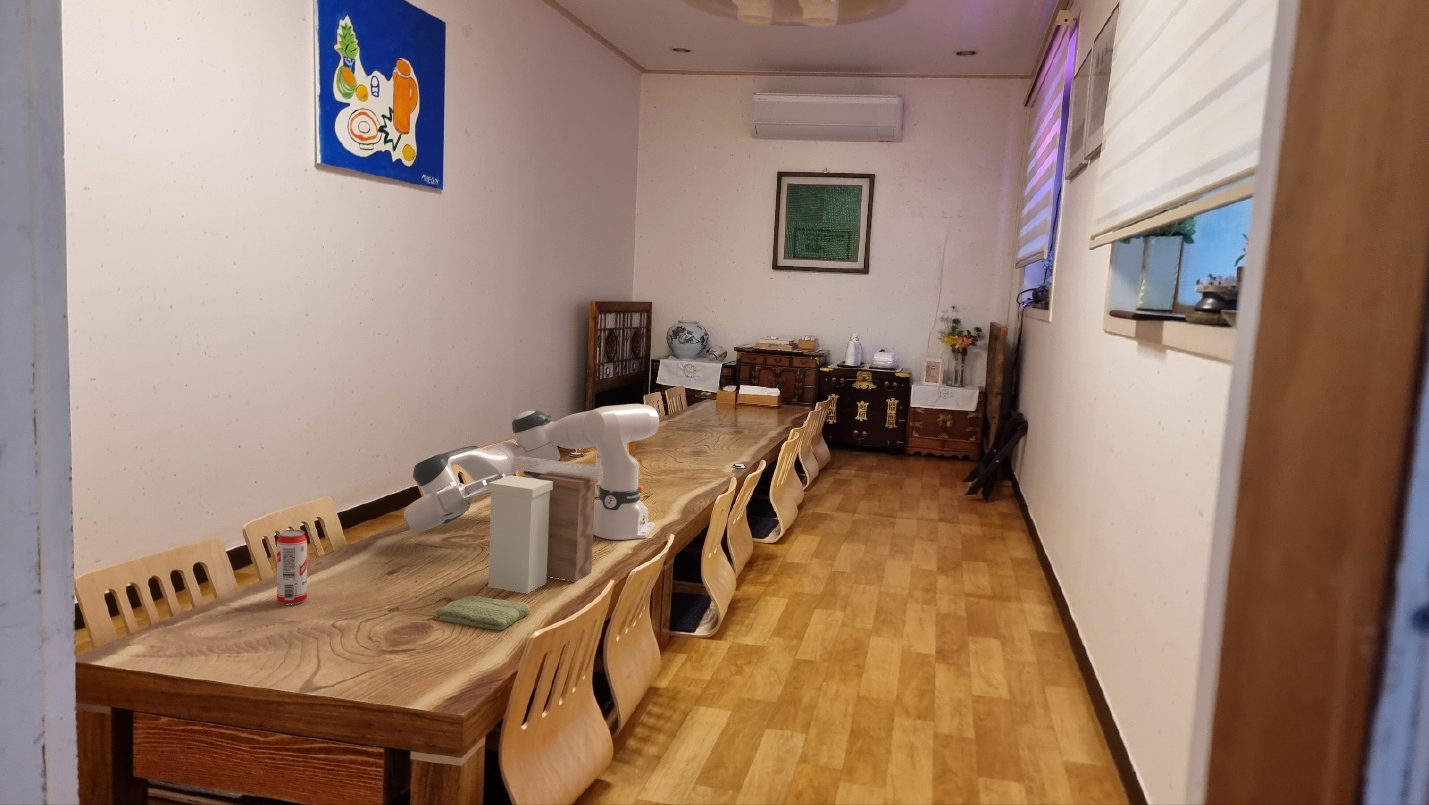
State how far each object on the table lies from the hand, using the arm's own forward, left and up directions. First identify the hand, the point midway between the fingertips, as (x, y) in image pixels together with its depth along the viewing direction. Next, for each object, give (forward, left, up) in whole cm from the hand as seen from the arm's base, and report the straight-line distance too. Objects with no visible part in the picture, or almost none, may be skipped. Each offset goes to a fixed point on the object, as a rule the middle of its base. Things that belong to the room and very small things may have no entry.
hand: (494, 479), depth 250 cm
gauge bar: (0, +18, +4) cm, 19 cm away
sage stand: (+13, +15, -22) cm, 30 cm away
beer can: (+47, -23, -23) cm, 57 cm away
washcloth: (+35, +19, -23) cm, 46 cm away
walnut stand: (0, +21, -22) cm, 31 cm away
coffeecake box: (-86, -8, -23) cm, 89 cm away
